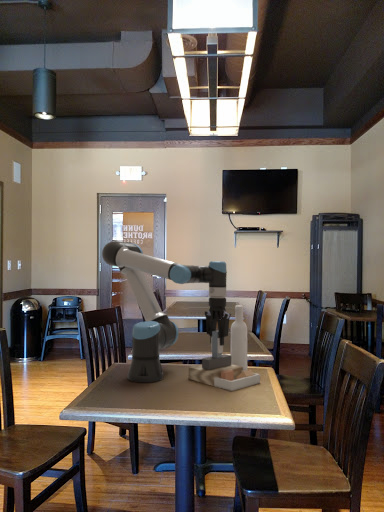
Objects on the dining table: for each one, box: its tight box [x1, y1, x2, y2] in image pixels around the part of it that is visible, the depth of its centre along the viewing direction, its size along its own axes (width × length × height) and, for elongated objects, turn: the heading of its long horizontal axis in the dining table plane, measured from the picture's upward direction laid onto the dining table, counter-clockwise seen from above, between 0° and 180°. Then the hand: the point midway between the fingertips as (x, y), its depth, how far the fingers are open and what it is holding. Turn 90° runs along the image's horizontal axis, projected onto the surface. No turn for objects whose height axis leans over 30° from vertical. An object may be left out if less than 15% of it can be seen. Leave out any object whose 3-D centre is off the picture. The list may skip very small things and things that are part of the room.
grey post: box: [201, 330, 231, 370], centre depth 178 cm, size 4×14×15 cm, turn 133°
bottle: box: [229, 304, 248, 371], centre depth 193 cm, size 8×8×30 cm
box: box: [213, 370, 261, 392], centre depth 170 cm, size 9×18×4 cm, turn 133°
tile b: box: [236, 368, 255, 379], centre depth 171 cm, size 5×5×2 cm
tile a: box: [221, 370, 234, 381], centre depth 169 cm, size 5×5×2 cm
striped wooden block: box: [188, 363, 243, 387], centre depth 178 cm, size 15×18×5 cm
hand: (216, 352), depth 178 cm, fingers closed on grey post, 3 cm apart
